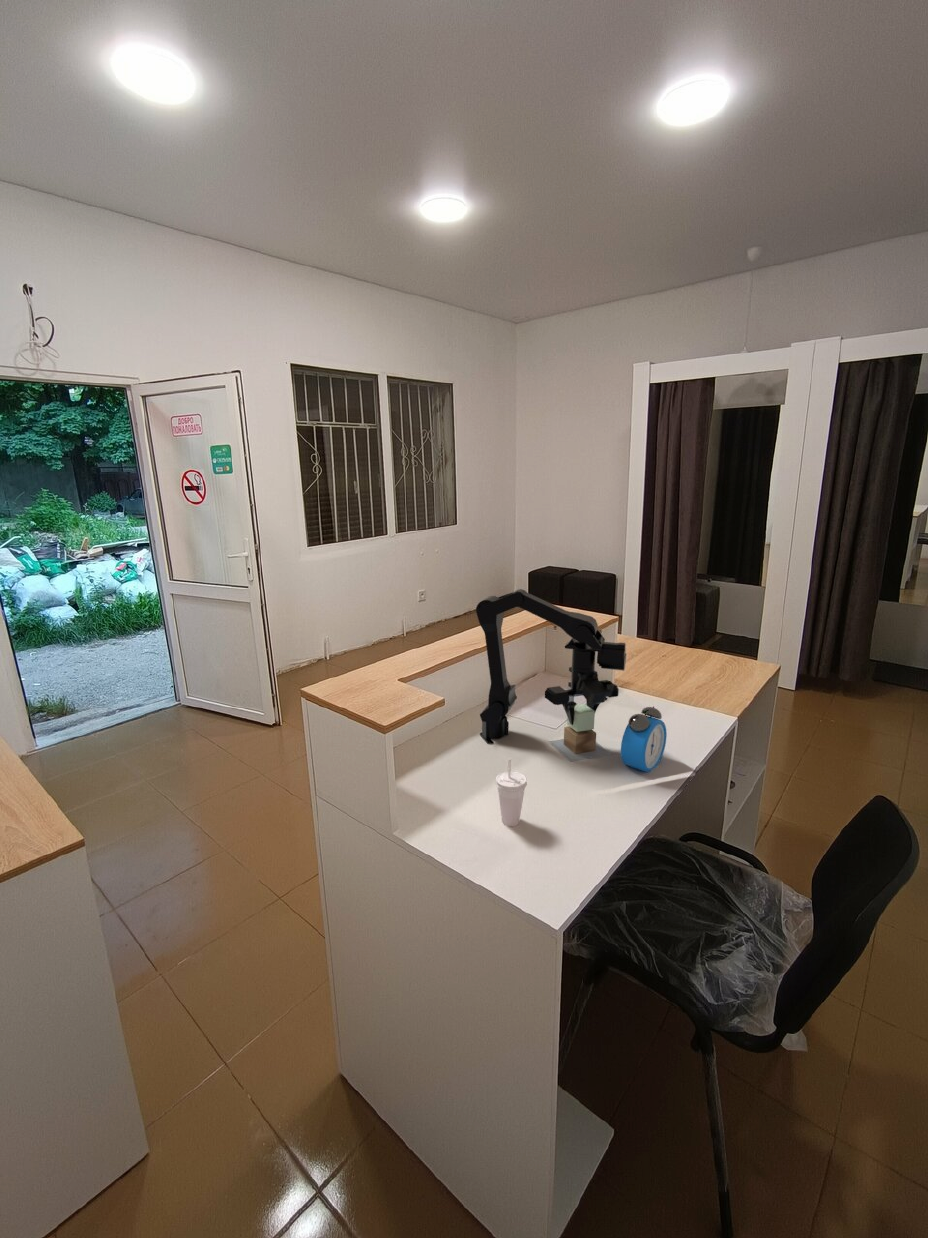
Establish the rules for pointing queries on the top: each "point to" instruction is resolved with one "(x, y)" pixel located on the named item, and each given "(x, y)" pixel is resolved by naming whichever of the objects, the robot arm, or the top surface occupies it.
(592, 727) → the sage cube
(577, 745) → the walnut block
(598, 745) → the mat
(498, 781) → the smoothie
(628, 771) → the top surface
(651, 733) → the alarm clock
